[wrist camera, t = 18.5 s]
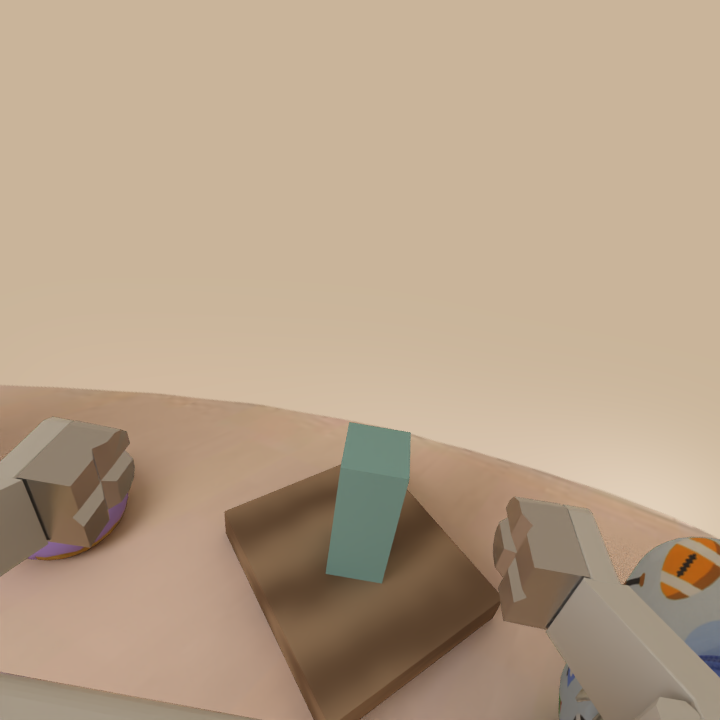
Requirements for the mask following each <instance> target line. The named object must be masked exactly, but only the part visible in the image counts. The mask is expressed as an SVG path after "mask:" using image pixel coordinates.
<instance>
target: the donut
mask: <svg viewBox="0 0 720 720" xmlns="http://www.w3.org/2000/svg"><path fill="white" fill-rule="evenodd" d="M127 499H128V493H127V494H126V496H125V498H124V499H123V501H122V502H121V503H119V504H117V505H115V506H114V507H112V508H110V509H108V511H109V519H110V520H109V521H108V523H107V524H106V526H105V527H104V529H103V530H102V532H101V533H100V535H99V536H98V538H97V539H96V540H95V542H94V543H93V545H92V546H91V547H93V546H94V545H96V544H98V543H99V542H100V541H101V540H103V539H104V538H105V537H106V536H107V535H109V534H110V533H111V532H112V531H113V529H114V528H115V527H116V525H117V524H118V523H119V521H120V519H121V518H122V516H123V514H124V511H125V508H126V504H127ZM88 549H89V547H82V546H75V545H68V544H62V543H55V542H48V545H46V546H45V547H43V548H42V549H40V550H39V551H37V552H36V553H34V554H33V555H31V556H30V557H28V558H29V559H39V560H56V559H63V558H67V557H70V556H74V555H77V554H79V553H82V552H84V551H86V550H88Z"/></svg>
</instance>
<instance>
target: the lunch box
mask: <svg viewBox="0 0 720 720" xmlns="http://www.w3.org/2000/svg"><path fill="white" fill-rule="evenodd" d="M623 585H628V586H629V587H630V588H631V589H632V590H633V591H634V592H635V593H636V594H637V595H638V596H639V597H640V598H641V599H642V600H643V601H644V602H645V603H646V604H647V605H648V606H649V607H650V608H651V609H652V610H653V611H654V612H655V613H656V614H657V615H658V616H659V617H660V618H661V619H662V620H663V621H664V622H665V623H666V624H667V625H668V626H669V627H670V628H671V629H672V630H673V631H674V632H675V633H676V634H677V635H678V636H679V637H680V638H681V639H682V640H683V641H684V642H685V643H686V644H687V645H688V646H689V647H690V648H691V649H692V650H693V651H694V652H695V653H696V654H697V655H698V656H699V657H700V658H701V659H702V660H703V661H704V662H705V663H706V664H707V665H708V666H709V667H710V668H711V669H712V670H713V671H714V672H715V673H716V674H717V675H718V676H719V677H720V539H712V538H704V537H687V538H678V539H675V540H671V541H668V542H665V543H663V544H661V545H659V546H657V547H655V548H654V549H652V550H651V551H650V552H648V553H647V554H646V555H645V556H644V557H643V558H642V559H641V560H640V562H639V563H638V564H637V566H636V567H635V569H634V570H633V572H632V573H631V575H630V576H629V578H628V579H627V580H626V582H625V583H624V584H623ZM559 720H603V718H602V717H601V715H600V714H599V712H598V711H597V709H596V708H595V706H594V705H593V703H592V701H591V700H590V698H589V697H588V695H587V694H586V692H585V691H584V689H583V688H582V686H581V685H580V683H579V682H578V680H577V679H576V677H575V676H574V674H573V673H572V671H571V670H570V668H569V667H568V665H567V663H566V665H565V667H564V669H563V672H562V675H561V681H560V688H559Z"/></svg>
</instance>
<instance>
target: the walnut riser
mask: <svg viewBox="0 0 720 720" xmlns="http://www.w3.org/2000/svg"><path fill="white" fill-rule="evenodd" d="M340 468H341V465H339V466H336V467H334V468H331V469H329V470H326V471H324V472H321V473H319V474H316V475H314V476H311V477H309V478H306V479H304V480H302V481H299V482H297V483H294V484H292V485H289V486H287V487H284V488H282V489H279V490H277V491H274V492H272V493H269V494H267V495H264V496H262V497H259V498H257V499H254V500H252V501H249V502H247V503H244V504H242V505H239V506H237V507H235V508H232V509H230V510H227V511H225V527H226V534H227V536H228V538H229V541H230V543H231V545H232V547H233V549H234V551H235V553H236V555H237V558H238V560H239V562H240V564H241V566H242V568H243V570H244V572H245V575H246V577H247V579H248V581H249V583H250V585H251V587H252V589H253V591H254V594H255V596H256V598H257V600H258V602H259V604H260V606H261V608H262V611H263V613H264V615H265V617H266V619H267V621H268V623H269V625H270V627H271V630H272V632H273V634H274V636H275V638H276V640H277V642H278V644H279V647H280V649H281V651H282V653H283V655H284V657H285V659H286V661H287V664H288V666H289V668H290V670H291V672H292V674H293V676H294V678H295V680H296V683H297V685H298V687H299V689H300V691H301V693H302V695H303V697H304V700H305V702H306V704H307V706H308V708H309V710H310V712H311V714H312V717H313V719H314V720H359V719H361V718H362V717H363V716H365V715H366V714H367V713H369V712H370V711H371V710H372V709H374V708H375V707H376V706H378V705H379V704H380V703H382V702H383V701H384V700H386V699H387V698H388V697H389V696H391V695H392V694H393V693H395V692H396V691H397V690H399V689H400V688H401V687H403V686H404V685H405V684H407V683H408V682H409V681H410V680H412V679H413V678H414V677H416V676H417V675H418V674H420V673H421V672H422V671H424V670H425V669H426V668H428V667H429V666H430V665H431V664H433V663H434V662H435V661H437V660H438V659H439V658H441V657H442V656H443V655H445V654H446V653H447V652H448V651H450V650H451V649H452V648H454V647H455V646H456V645H458V644H459V643H460V642H462V641H463V640H464V639H466V638H467V637H468V636H469V635H471V634H472V633H473V632H475V631H476V630H477V629H479V628H480V627H481V626H483V625H484V624H485V623H486V622H488V621H489V620H490V619H492V618H493V616H494V614H495V613H496V611H497V609H498V607H499V605H500V597H499V593H498V592H497V591H496V589H495V588H494V587H493V586H492V585H491V584H490V583H489V581H488V580H487V579H486V578H485V577H484V576H483V575H482V574H481V572H480V571H479V570H478V569H477V568H476V567H475V566H474V565H473V563H472V562H471V561H470V560H469V559H468V558H467V557H466V555H465V554H464V553H463V552H462V551H461V550H460V549H459V548H458V546H457V545H456V544H455V543H454V542H453V541H452V540H451V538H450V537H449V536H448V535H447V534H446V533H445V532H444V531H443V529H442V528H441V527H440V526H439V525H438V524H437V523H436V522H435V520H434V519H433V518H432V517H431V516H430V515H429V514H428V512H427V511H426V510H425V509H424V508H423V507H422V506H421V505H420V503H419V502H418V501H417V500H416V499H415V498H414V497H413V495H412V494H411V493H410V492H409V491H408V490H406V494H405V498H404V502H403V505H402V509H401V513H400V517H399V520H398V524H397V528H396V532H395V536H394V539H393V543H392V547H391V551H390V555H389V558H388V562H387V566H386V570H385V573H384V577H383V581H382V584H381V583H376V582H370V581H364V580H359V579H353V578H347V577H342V576H336V575H330V574H326V567H327V560H328V553H329V546H330V539H331V532H332V525H333V518H334V511H335V504H336V496H337V489H338V482H339V475H340Z"/></svg>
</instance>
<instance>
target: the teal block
mask: <svg viewBox="0 0 720 720" xmlns="http://www.w3.org/2000/svg"><path fill="white" fill-rule="evenodd" d="M410 434H411V433H410V432H404V431H398V430H392V429H386V428H380V427H374V426H368V425H363V424H357V423H351V422H349V427H348V432H347V437H346V443H345V448H344V453H343V458H342V463H341V468H340V475H339V482H338V489H337V496H336V504H335V511H334V518H333V525H332V532H331V539H330V546H329V553H328V560H327V567H326V574H330V575H336V576H342V577H347V578H353V579H359V580H364V581H370V582H376V583H381V584H382V581H383V577H384V573H385V570H386V566H387V562H388V558H389V555H390V551H391V547H392V543H393V539H394V536H395V532H396V528H397V524H398V520H399V517H400V513H401V509H402V505H403V502H404V498H405V494H406V490H407V486H408V483H409V474H410Z"/></svg>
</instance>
